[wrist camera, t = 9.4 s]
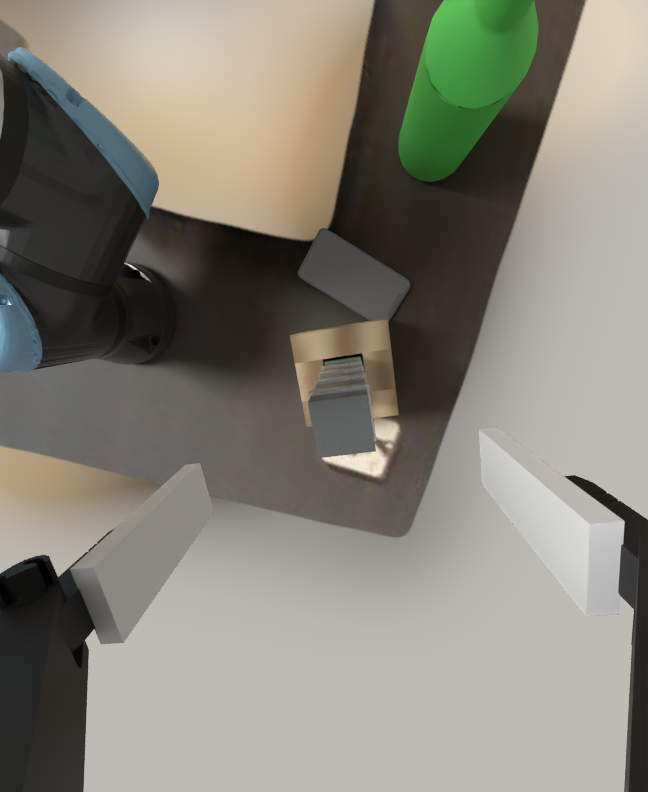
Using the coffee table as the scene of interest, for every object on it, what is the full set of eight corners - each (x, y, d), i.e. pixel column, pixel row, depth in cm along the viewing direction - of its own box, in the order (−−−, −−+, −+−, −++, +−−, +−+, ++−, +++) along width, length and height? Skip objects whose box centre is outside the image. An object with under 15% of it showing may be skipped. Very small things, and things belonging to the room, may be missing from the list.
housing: (314, 407, 50) (305, 431, 40) (300, 332, 47) (287, 336, 37) (389, 397, 49) (400, 418, 39) (380, 319, 46) (389, 319, 36)
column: (331, 390, 43) (315, 461, 22) (326, 358, 42) (304, 400, 21) (363, 385, 43) (378, 453, 21) (359, 353, 42) (370, 391, 20)
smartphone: (321, 224, 43) (413, 282, 44) (322, 226, 44) (412, 283, 45) (295, 275, 45) (383, 329, 46) (296, 276, 46) (383, 329, 47)
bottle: (474, 166, 41) (660, -55, 16) (409, 196, 42) (491, 33, 18) (455, 91, 39) (629, -279, 15) (387, 125, 40) (446, -163, 16)
